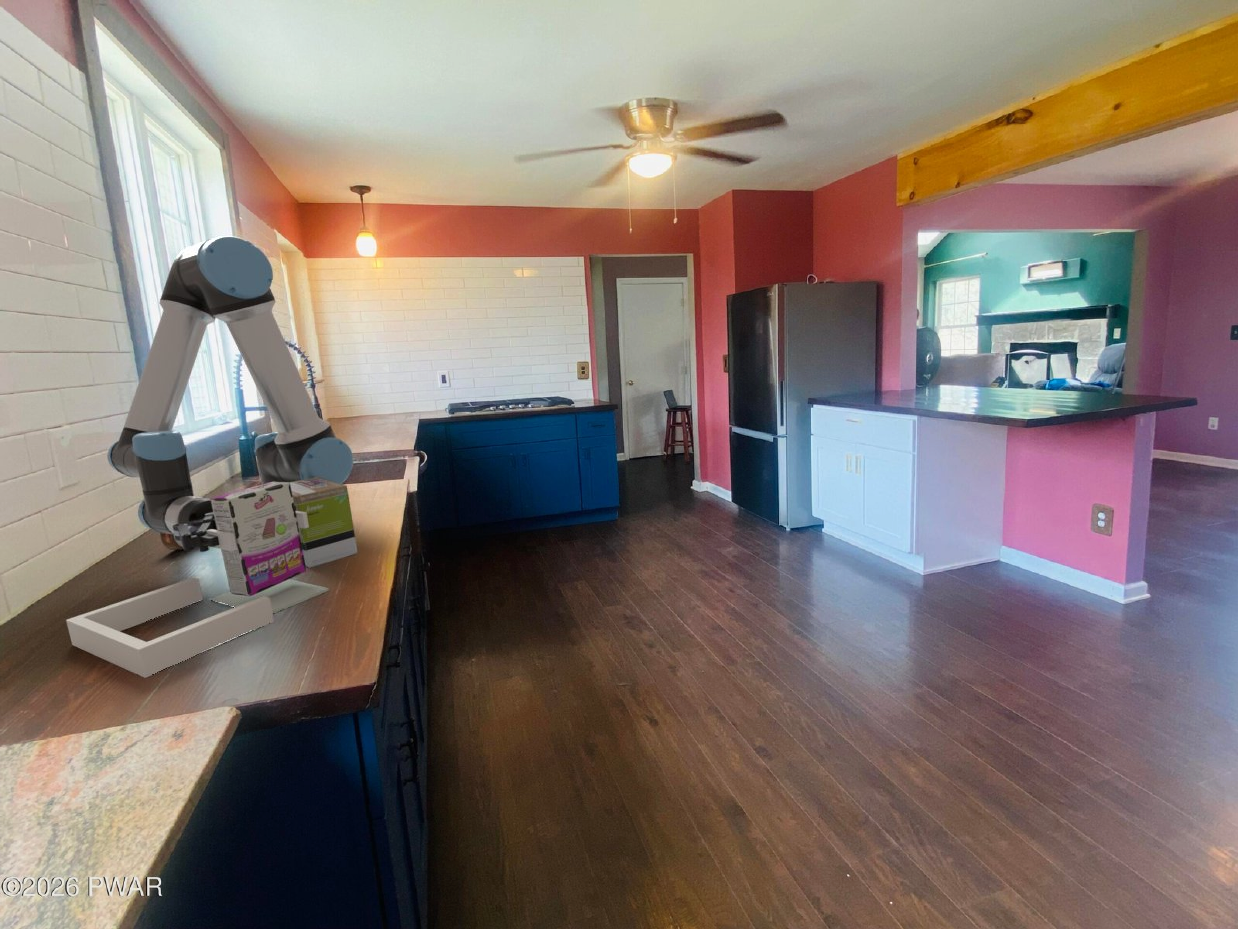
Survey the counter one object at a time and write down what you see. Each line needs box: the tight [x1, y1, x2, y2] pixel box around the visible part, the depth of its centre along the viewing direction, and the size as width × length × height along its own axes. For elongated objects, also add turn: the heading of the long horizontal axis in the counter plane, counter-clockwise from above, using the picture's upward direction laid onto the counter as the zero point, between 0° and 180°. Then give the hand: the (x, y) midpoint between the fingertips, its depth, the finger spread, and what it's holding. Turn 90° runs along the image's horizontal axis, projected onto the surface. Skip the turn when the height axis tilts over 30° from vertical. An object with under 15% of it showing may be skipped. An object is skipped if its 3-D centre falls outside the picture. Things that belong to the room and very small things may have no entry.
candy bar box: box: [209, 482, 307, 596], centre depth 99 cm, size 11×5×16 cm, turn 159°
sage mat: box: [210, 578, 330, 614], centre depth 102 cm, size 11×16×1 cm
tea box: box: [290, 477, 358, 569], centre depth 121 cm, size 15×10×15 cm
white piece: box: [65, 577, 275, 679], centre depth 89 cm, size 17×22×4 cm
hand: (271, 530), depth 97 cm, fingers closed on candy bar box, 11 cm apart
